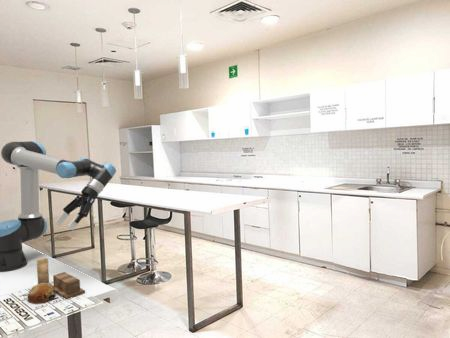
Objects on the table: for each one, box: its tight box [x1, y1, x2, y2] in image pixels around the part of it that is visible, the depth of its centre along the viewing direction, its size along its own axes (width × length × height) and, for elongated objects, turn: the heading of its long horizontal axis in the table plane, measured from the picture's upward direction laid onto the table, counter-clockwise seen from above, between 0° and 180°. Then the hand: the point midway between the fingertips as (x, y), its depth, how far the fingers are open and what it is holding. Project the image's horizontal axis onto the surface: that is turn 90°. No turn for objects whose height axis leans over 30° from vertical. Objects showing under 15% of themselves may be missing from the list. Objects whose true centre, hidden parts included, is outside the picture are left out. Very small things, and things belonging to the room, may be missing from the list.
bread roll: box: [27, 282, 56, 304], centre depth 142 cm, size 10×10×8 cm
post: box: [36, 257, 50, 285], centre depth 154 cm, size 4×4×12 cm
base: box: [52, 271, 86, 300], centre depth 148 cm, size 16×8×6 cm, turn 49°
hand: (63, 226), depth 159 cm, fingers open, 13 cm apart
